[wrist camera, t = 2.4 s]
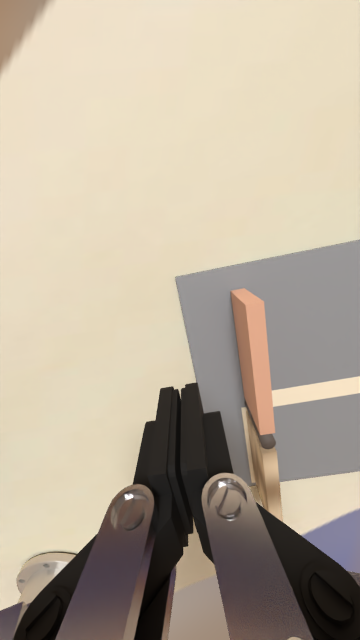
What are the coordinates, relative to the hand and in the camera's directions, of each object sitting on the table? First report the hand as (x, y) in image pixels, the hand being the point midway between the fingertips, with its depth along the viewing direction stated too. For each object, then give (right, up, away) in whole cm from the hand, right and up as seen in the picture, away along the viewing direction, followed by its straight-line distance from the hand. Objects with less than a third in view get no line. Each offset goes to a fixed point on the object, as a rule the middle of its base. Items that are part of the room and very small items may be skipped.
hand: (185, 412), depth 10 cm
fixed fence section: (+8, -10, +15) cm, 20 cm away
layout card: (+11, -2, +13) cm, 17 cm away
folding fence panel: (+6, +2, +11) cm, 12 cm away
